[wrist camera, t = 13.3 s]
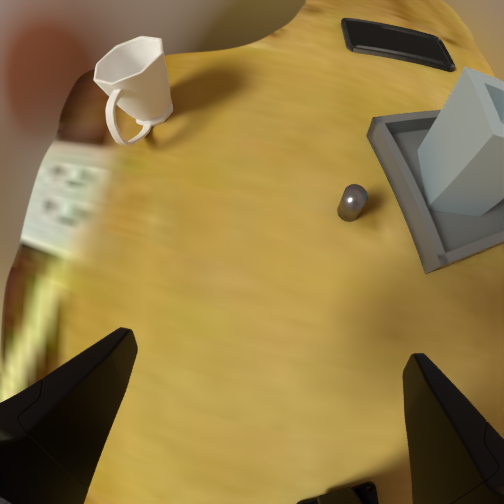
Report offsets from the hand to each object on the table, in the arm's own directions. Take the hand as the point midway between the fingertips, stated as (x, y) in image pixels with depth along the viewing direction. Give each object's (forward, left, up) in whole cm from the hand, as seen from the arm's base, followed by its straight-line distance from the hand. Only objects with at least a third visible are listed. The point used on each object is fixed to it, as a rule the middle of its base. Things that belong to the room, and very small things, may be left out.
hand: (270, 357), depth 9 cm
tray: (+9, -19, -14) cm, 25 cm away
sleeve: (+9, -19, -13) cm, 25 cm away
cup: (+24, +6, -14) cm, 28 cm away
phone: (+30, -26, -14) cm, 42 cm away
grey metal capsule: (+9, -9, -14) cm, 18 cm away
